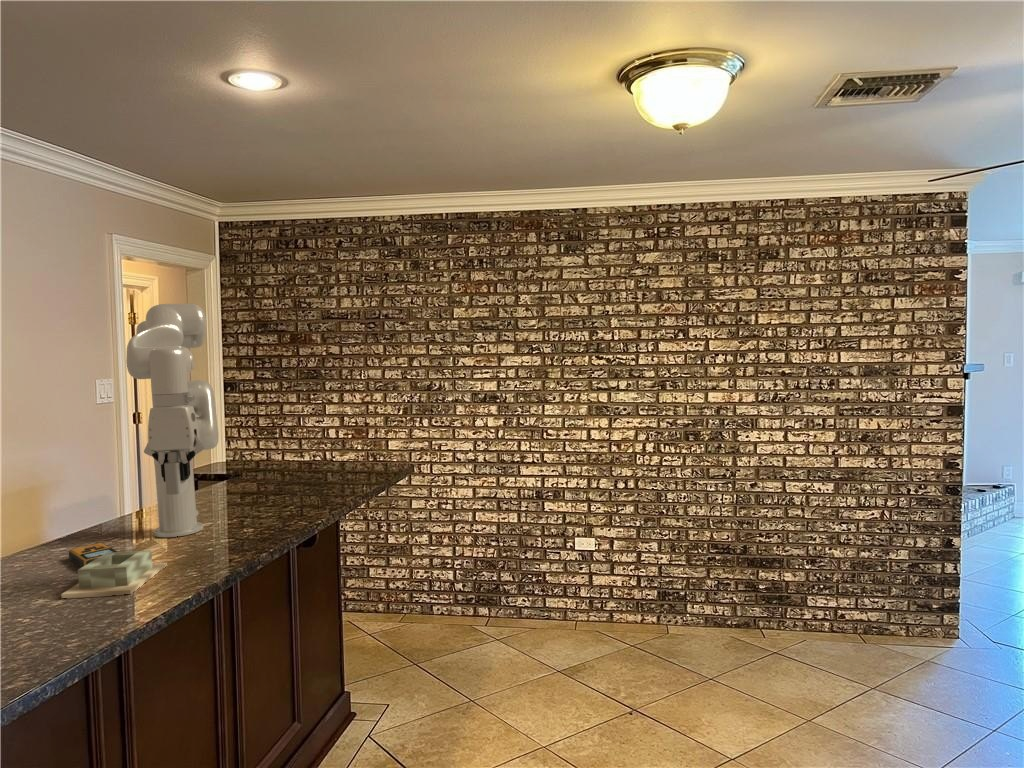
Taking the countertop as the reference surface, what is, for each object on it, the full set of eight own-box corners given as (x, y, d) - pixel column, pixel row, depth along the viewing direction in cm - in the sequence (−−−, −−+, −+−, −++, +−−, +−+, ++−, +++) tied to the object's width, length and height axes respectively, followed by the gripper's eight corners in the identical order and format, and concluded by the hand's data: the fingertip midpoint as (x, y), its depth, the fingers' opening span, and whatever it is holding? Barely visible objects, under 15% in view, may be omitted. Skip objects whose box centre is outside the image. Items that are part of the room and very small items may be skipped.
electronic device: (105, 553, 181) (104, 540, 181) (125, 565, 170) (124, 551, 170) (67, 562, 175) (66, 548, 175) (85, 574, 164) (84, 560, 164)
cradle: (105, 570, 165) (104, 549, 165) (167, 566, 166) (165, 545, 166) (61, 598, 147) (59, 575, 147) (131, 594, 148) (129, 571, 148)
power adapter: (188, 489, 167) (185, 438, 166) (179, 494, 162) (175, 442, 161) (175, 489, 167) (171, 439, 166) (165, 494, 161) (161, 442, 160)
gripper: (213, 398, 167) (218, 475, 168) (141, 401, 166) (147, 478, 167) (201, 401, 159) (206, 481, 161) (126, 404, 158) (132, 485, 160)
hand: (176, 479), depth 164 cm, fingers closed on power adapter, 3 cm apart
